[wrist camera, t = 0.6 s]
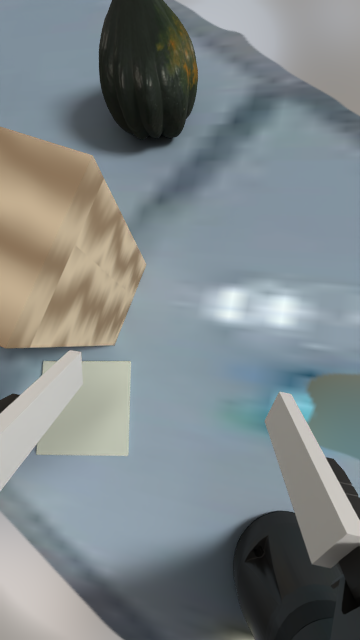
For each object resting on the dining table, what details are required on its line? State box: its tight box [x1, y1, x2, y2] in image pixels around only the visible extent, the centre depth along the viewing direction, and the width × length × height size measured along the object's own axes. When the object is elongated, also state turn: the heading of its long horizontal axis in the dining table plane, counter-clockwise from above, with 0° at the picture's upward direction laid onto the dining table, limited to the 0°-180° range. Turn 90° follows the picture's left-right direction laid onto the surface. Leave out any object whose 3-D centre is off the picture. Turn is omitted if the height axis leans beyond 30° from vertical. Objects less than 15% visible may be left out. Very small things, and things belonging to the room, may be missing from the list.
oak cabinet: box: [0, 127, 146, 348], centre depth 24 cm, size 14×26×20 cm, turn 70°
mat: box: [36, 361, 131, 456], centre depth 31 cm, size 14×14×1 cm
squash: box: [99, 0, 198, 140], centre depth 31 cm, size 14×15×15 cm
